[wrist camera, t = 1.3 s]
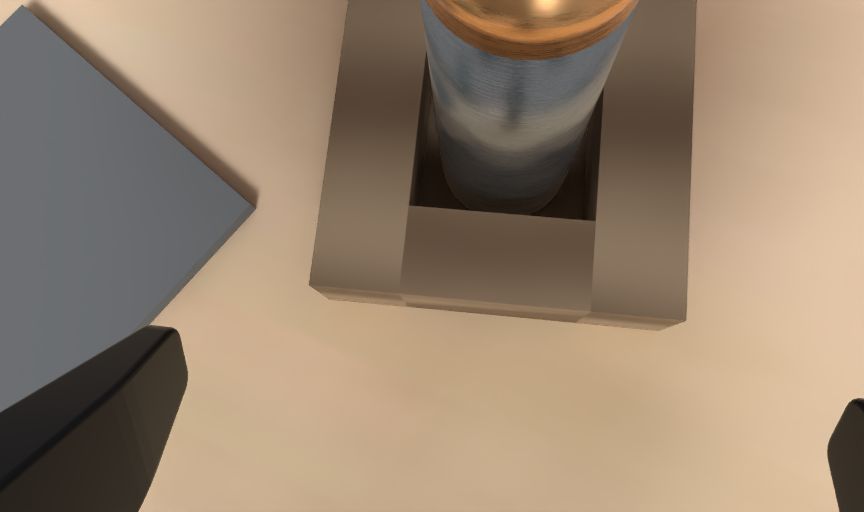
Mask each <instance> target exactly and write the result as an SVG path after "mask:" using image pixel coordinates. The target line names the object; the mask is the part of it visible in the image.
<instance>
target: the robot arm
mask: <svg viewBox="0 0 864 512" xmlns="http://www.w3.org/2000/svg"><path fill="white" fill-rule="evenodd" d="M187 381H188V370H187V365H186V361H185V356H184V352H183V347H182V342H181V338H180V335H179V333H178V331H177V330H176V329H174V328H172V327H163V326H153V325H150V326H145V327H143V328H141V329H139V330H137V331H136V332H134V333H132V334H131V335H129V336H127V337H126V338H124V339H122V340H121V341H119V342H117V343H116V344H114V345H112V346H110V347H109V348H107V349H105V350H104V351H102V352H100V353H99V354H97V355H95V356H94V357H92V358H90V359H89V360H87V361H85V362H83V363H82V364H80V365H78V366H77V367H75V368H73V369H72V370H70V371H68V372H67V373H65V374H63V375H62V376H60V377H58V378H57V379H55V380H53V381H51V382H50V383H48V384H46V385H45V386H43V387H41V388H40V389H38V390H36V391H35V392H33V393H31V394H30V395H28V396H26V397H24V398H23V399H21V400H19V401H18V402H16V403H14V404H13V405H11V406H9V407H8V408H6V409H4V410H3V411H1V412H0V512H138V511H139V509H140V507H141V505H142V503H143V501H144V499H145V497H146V494H147V492H148V490H149V488H150V486H151V483H152V481H153V478H154V476H155V473H156V470H157V468H158V465H159V462H160V459H161V457H162V454H163V451H164V448H165V446H166V443H167V440H168V437H169V434H170V432H171V429H172V426H173V423H174V420H175V418H176V415H177V412H178V409H179V406H180V404H181V401H182V398H183V395H184V393H185V390H186V386H187ZM827 455H828V462H829V467H830V471H831V476H832V480H833V485H834V489H835V494H836V498H837V503H838V507H839V512H864V399H863V398H857V399H853V400H852V401H851V402H849V403H848V405H847V407H846V408H845V410H844V412H843V414H842V416H841V418H840V420H839V422H838V424H837V426H836V428H835V430H834V432H833V434H832V436H831V438H830V440H829V443H828V450H827Z"/></svg>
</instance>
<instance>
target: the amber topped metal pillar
mask: <svg viewBox="0 0 864 512" xmlns="http://www.w3.org/2000/svg"><path fill="white" fill-rule="evenodd" d="M639 1H640V0H420V4H421V11H422V19H423V26H424V34H425V41H426V49H427V56H428V64H429V71H430V79H431V86H432V94H433V101H434V109H435V116H436V124H437V131H438V139H439V146H440V154H441V161H442V168H443V173H444V177H445V180H446V182H447V184H448V187H449V188H450V190H451V191H452V193H453V194H454V195H455V197H456V198H457V199H458V200H459V201H460V202H461V203H462V204H463V205H464V206H466V207H467V208H469V209H470V210H472V211H480V212H492V213H504V214H516V215H530V214H532V213H535V212H536V211H538V210H540V209H541V208H543V207H544V206H545V205H547V204H548V203H549V202H550V201H551V200H552V199H553V198H554V197H555V195H556V194H557V193H558V191H559V190H560V188H561V186H562V184H563V182H564V180H565V177H566V175H567V173H568V170H569V168H570V165H571V163H572V161H573V158H574V156H575V153H576V151H577V149H578V146H579V144H580V142H581V139H582V137H583V134H584V132H585V130H586V127H587V125H588V122H589V120H590V118H591V115H592V113H593V110H594V108H595V106H596V103H597V101H598V99H599V96H600V94H601V91H602V89H603V87H604V84H605V82H606V79H607V77H608V75H609V72H610V70H611V67H612V65H613V63H614V60H615V58H616V56H617V53H618V51H619V48H620V46H621V44H622V41H623V39H624V36H625V34H626V32H627V29H628V27H629V24H630V22H631V20H632V17H633V15H634V13H635V10H636V8H637V5H638V3H639Z"/></svg>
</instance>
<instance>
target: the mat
mask: <svg viewBox="0 0 864 512" xmlns="http://www.w3.org/2000/svg"><path fill="white" fill-rule="evenodd" d="M254 210H255V208H254V207H253V206H252V205H251V204H250V203H249V202H247V201H246V200H245V199H244V198H243V197H242V196H241V195H239V194H238V193H237V192H236V191H235V190H234V189H233V188H231V187H230V186H229V185H228V184H227V183H226V182H225V181H223V180H222V179H221V178H220V177H219V176H218V175H216V174H215V173H214V172H213V171H212V170H211V169H210V168H208V167H207V166H206V165H205V164H204V163H203V162H202V161H200V160H199V159H198V158H197V157H196V156H195V155H194V154H192V153H191V152H190V151H189V150H188V149H187V148H186V147H184V146H183V145H182V144H181V143H180V142H179V141H178V140H176V139H175V138H174V137H173V136H172V135H171V134H170V133H168V132H167V131H166V130H165V129H164V128H163V127H162V126H160V125H159V124H158V123H157V122H156V121H155V120H154V119H152V118H151V117H150V116H149V115H148V114H147V113H146V112H144V111H143V110H142V109H141V108H140V107H139V106H138V105H136V104H135V103H134V102H133V101H132V100H131V99H130V98H128V97H127V96H126V95H125V94H124V93H123V92H122V91H120V90H119V89H118V88H117V87H116V86H115V85H114V84H112V83H111V82H110V81H109V80H108V79H107V78H106V77H104V76H103V75H102V74H101V73H100V72H99V71H98V70H96V69H95V68H94V67H93V66H92V65H91V64H90V63H88V62H87V61H86V60H85V59H84V58H83V57H82V56H80V55H79V54H78V53H77V52H76V51H75V50H74V49H72V48H71V47H70V46H69V45H68V44H67V43H65V42H64V41H63V40H62V39H61V38H60V37H59V36H57V35H56V34H55V33H54V32H53V31H52V30H51V29H49V28H48V27H47V26H46V25H45V24H44V23H43V22H41V21H40V20H39V19H38V18H37V17H36V16H35V15H33V14H32V13H31V12H30V11H29V10H28V9H27V8H25V7H24V6H23V5H21V6H20V7H19V8H18V9H17V10H16V11H15V12H14V13H13V14H12V15H11V16H10V17H9V18H8V19H7V20H6V21H5V22H4V23H3V24H2V25H1V26H0V412H1V411H3V410H4V409H6V408H8V407H9V406H11V405H13V404H14V403H16V402H18V401H19V400H21V399H23V398H24V397H26V396H28V395H30V394H31V393H33V392H35V391H36V390H38V389H40V388H41V387H43V386H45V385H46V384H48V383H50V382H51V381H53V380H55V379H57V378H58V377H60V376H62V375H63V374H65V373H67V372H68V371H70V370H72V369H73V368H75V367H77V366H78V365H80V364H82V363H83V362H85V361H87V360H89V359H90V358H92V357H94V356H95V355H97V354H99V353H100V352H102V351H104V350H105V349H107V348H109V347H110V346H112V345H114V344H116V343H117V342H119V341H121V340H122V339H124V338H126V337H127V336H129V335H131V334H132V333H134V332H136V331H137V330H139V329H141V328H143V327H145V326H148V325H149V324H150V323H151V322H152V321H153V320H154V319H155V318H156V317H157V315H158V314H159V313H160V312H161V311H162V310H163V309H164V308H165V307H166V306H167V305H168V304H169V302H170V301H171V300H172V299H173V298H174V297H175V296H176V295H177V294H178V293H179V292H180V291H181V289H182V288H183V287H184V286H185V285H186V284H187V283H188V282H189V281H190V280H191V279H192V278H193V276H194V275H195V274H196V273H197V272H198V271H199V270H200V269H201V268H202V267H203V266H204V265H205V263H206V262H207V261H208V260H209V259H210V258H211V257H212V256H213V255H214V254H215V253H216V251H217V250H218V249H219V248H220V247H221V246H222V245H223V244H224V243H225V242H226V241H227V240H228V238H229V237H230V236H231V235H232V234H233V233H234V232H235V231H236V230H237V229H238V228H239V227H240V225H241V224H242V223H243V222H244V221H245V220H246V219H247V218H248V217H249V216H250V215H251V214H252V212H253V211H254Z"/></svg>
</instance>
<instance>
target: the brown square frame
mask: <svg viewBox="0 0 864 512" xmlns="http://www.w3.org/2000/svg"><path fill="white" fill-rule="evenodd" d="M696 2H697V0H640V1H639V3H638V5H637V8H636V10H635V13H634V15H633V17H632V20H631V22H630V24H629V27H628V29H627V32H626V34H625V36H624V39H623V41H622V44H621V46H620V48H619V51H618V53H617V56H616V58H615V60H614V63H613V65H612V67H611V70H610V72H609V75H608V77H607V79H606V82H605V84H604V87H603V89H602V91H601V94H600V96H599V99H598V101H597V103H596V106H595V108H594V110H593V113H592V115H591V118H590V120H589V122H588V135H587V151H586V167H585V183H584V198H583V214H582V220H575V219H563V218H551V217H540V216H528V215H516V214H504V213H492V212H480V211H469V210H457V209H445V208H433V207H421V206H419V202H420V193H421V184H422V175H423V166H424V157H425V148H426V139H427V130H428V121H429V112H430V103H431V94H432V86H431V79H430V71H429V64H428V56H427V49H426V41H425V34H424V26H423V19H422V11H421V4H420V0H349V1H348V8H347V15H346V22H345V29H344V36H343V44H342V51H341V58H340V65H339V72H338V80H337V87H336V94H335V101H334V108H333V116H332V123H331V130H330V137H329V144H328V152H327V159H326V166H325V173H324V180H323V187H322V195H321V202H320V209H319V216H318V223H317V231H316V238H315V245H314V252H313V259H312V267H311V274H310V281H309V285H310V286H311V287H312V288H314V289H315V290H317V291H318V292H320V293H321V294H323V295H324V296H326V297H327V298H328V299H334V300H344V301H355V302H365V303H376V304H386V305H396V306H407V307H417V308H428V309H438V310H449V311H459V312H470V313H480V314H490V315H501V316H511V317H522V318H532V319H543V320H553V321H563V322H574V323H584V324H595V325H605V326H616V327H626V328H636V329H647V330H657V331H659V330H662V329H665V328H667V327H670V326H673V325H676V324H678V323H681V322H684V321H686V310H687V279H688V248H689V217H690V187H691V156H692V125H693V94H694V64H695V33H696Z"/></svg>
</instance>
